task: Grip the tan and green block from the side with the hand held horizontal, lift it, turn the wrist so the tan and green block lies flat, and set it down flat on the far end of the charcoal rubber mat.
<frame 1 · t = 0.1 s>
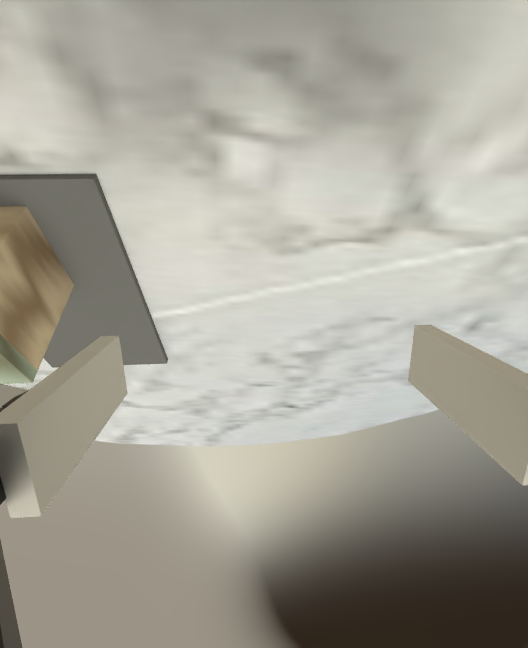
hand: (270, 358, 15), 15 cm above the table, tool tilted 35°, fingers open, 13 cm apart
mat: (69, 295, 32), on the table
tan and green block: (34, 250, 27), point 1 cm above the table, touching mat
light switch: (38, 392, 47), on the table
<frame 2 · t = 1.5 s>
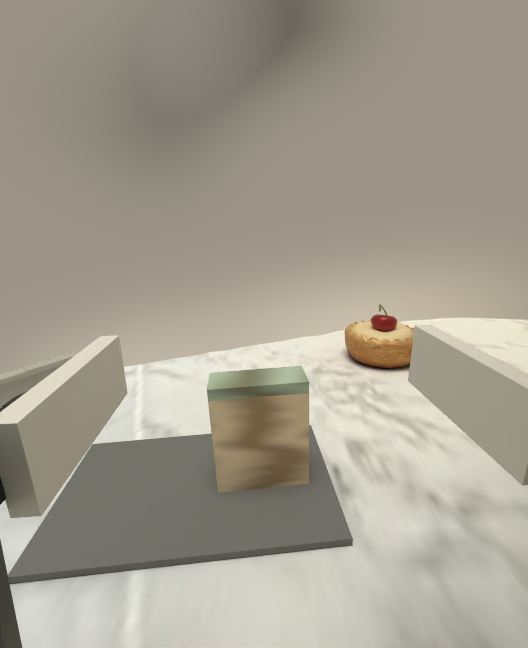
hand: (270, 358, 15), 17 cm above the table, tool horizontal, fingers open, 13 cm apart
mat: (197, 487, 30), on the table
tan and green block: (262, 475, 30), point 1 cm above the table, touching mat
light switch: (48, 425, 41), on the table
pastry: (380, 359, 55), on the table
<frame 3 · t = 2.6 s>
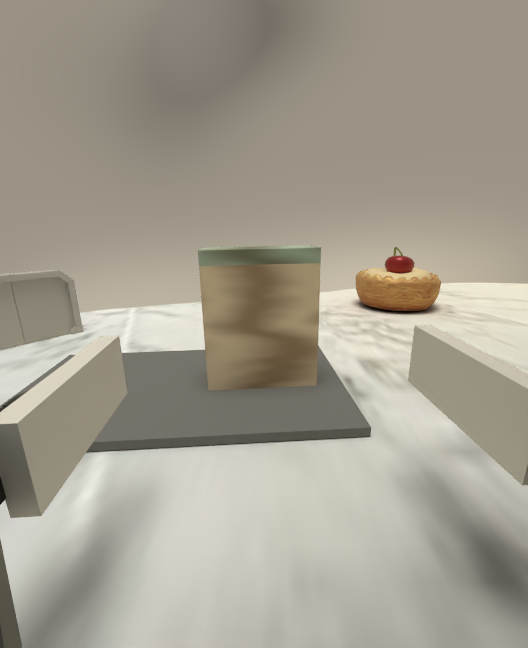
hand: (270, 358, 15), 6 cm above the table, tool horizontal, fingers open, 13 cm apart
mat: (184, 389, 25), on the table
tan and green block: (261, 379, 25), point 1 cm above the table, touching mat
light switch: (25, 345, 37), on the table
pastry: (394, 307, 51), on the table
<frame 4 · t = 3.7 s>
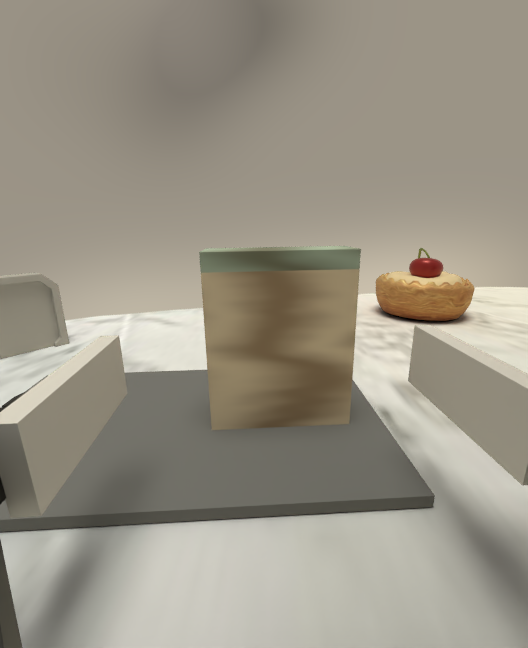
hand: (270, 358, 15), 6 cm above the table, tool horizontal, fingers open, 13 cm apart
mat: (182, 425, 20), on the table
tan and green block: (278, 413, 20), point 1 cm above the table, touching mat
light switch: (0, 360, 32), on the table
pastry: (418, 315, 46), on the table
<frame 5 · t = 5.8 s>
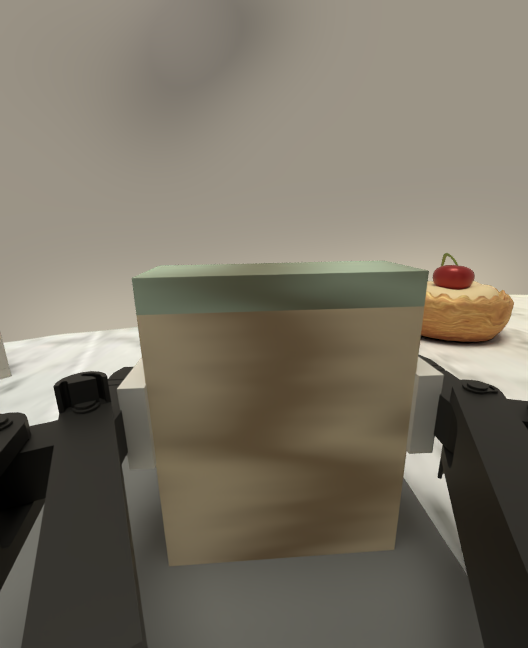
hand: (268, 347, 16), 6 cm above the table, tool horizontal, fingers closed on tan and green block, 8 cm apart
mat: (127, 543, 13), on the table
tan and green block: (279, 521, 13), point 1 cm above the table, touching gripper, mat
pastry: (443, 333, 38), on the table
when the fingers open (2 cm above the table, at t = 12.3 s): tan and green block drops 4 cm, resting on mat.
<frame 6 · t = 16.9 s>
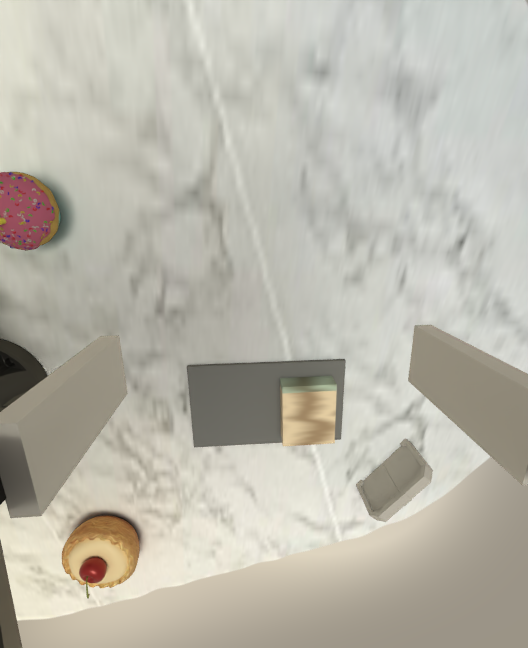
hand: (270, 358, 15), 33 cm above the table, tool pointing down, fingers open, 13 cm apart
mat: (267, 403, 52), on the table
tan and green block: (307, 438, 52), point 2 cm above the table, tilted 90°, touching mat
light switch: (382, 463, 57), on the table
pastry: (110, 534, 58), on the table
cupcake: (41, 213, 42), on the table
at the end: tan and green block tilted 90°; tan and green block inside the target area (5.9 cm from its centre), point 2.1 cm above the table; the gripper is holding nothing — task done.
